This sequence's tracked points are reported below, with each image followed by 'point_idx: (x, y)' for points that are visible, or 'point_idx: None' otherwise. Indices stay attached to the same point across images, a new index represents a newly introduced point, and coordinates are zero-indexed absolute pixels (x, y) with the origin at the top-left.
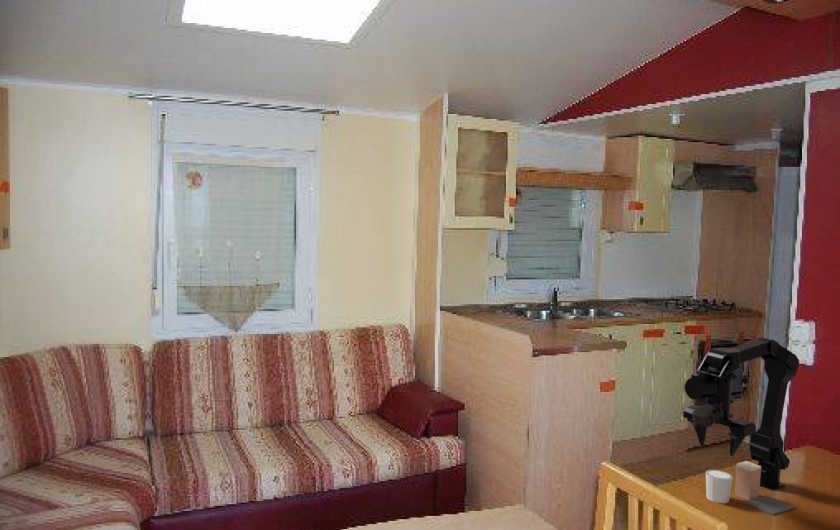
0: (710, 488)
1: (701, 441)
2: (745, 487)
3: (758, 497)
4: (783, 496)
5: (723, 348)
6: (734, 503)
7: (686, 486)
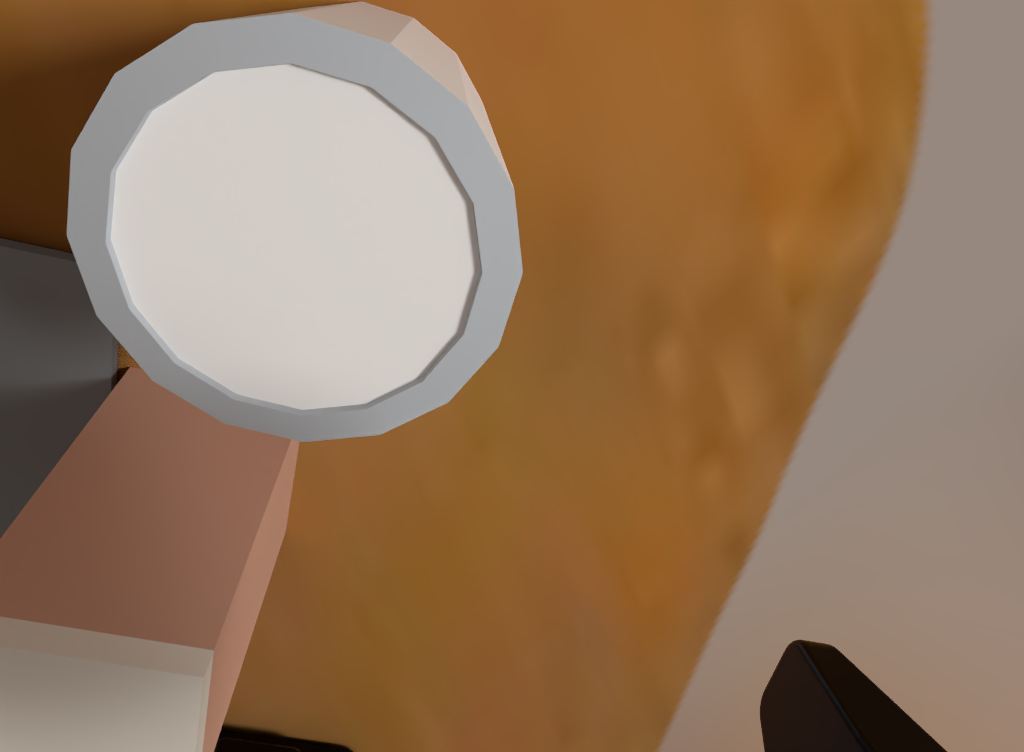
0: (375, 19)
1: (833, 722)
2: (137, 449)
3: None
4: None
5: None
6: None
7: (770, 198)
